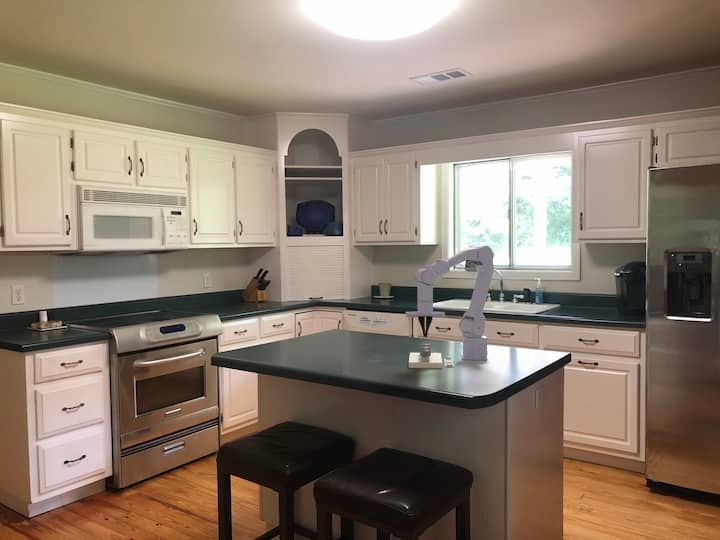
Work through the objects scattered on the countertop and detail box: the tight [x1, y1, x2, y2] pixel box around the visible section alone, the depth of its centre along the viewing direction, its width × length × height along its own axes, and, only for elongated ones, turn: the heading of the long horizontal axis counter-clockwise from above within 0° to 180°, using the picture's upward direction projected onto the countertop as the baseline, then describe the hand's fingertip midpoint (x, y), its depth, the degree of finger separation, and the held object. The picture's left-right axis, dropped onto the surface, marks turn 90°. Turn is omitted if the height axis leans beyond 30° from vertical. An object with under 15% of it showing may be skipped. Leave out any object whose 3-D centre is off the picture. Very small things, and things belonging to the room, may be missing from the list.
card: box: [443, 357, 455, 368], centre depth 219 cm, size 3×14×1 cm, turn 173°
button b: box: [419, 346, 432, 351], centre depth 219 cm, size 4×4×4 cm
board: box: [408, 352, 443, 369], centre depth 219 cm, size 12×18×2 cm, turn 174°
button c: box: [419, 349, 432, 362], centre depth 213 cm, size 4×4×4 cm
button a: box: [419, 343, 432, 348], centre depth 225 cm, size 4×4×4 cm
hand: (425, 336), depth 219 cm, fingers closed
